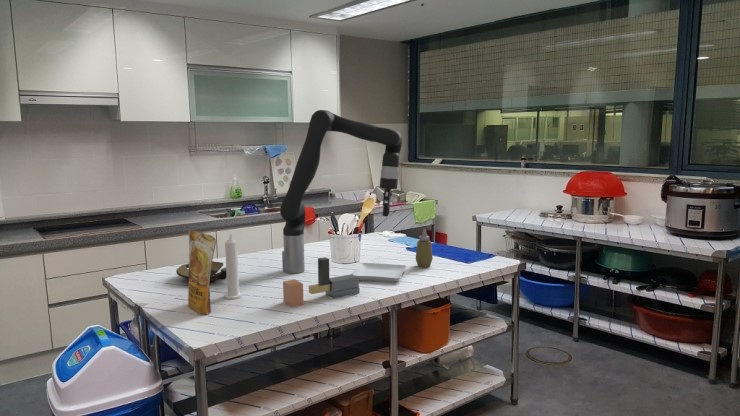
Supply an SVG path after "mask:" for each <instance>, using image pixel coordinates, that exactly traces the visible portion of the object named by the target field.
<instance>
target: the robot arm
mask: <svg viewBox="0 0 740 416" xmlns="http://www.w3.org/2000/svg"><path fill="white" fill-rule="evenodd" d="M307 128H308V129H307V133H306V137H305V140H304V143H303V144H302V145H303V146H302V148H301V151H300V154H299V156H298V158H297V162H296V165H295V167H294V171H293V174H292V176H291V180H290V184H289V187H288V189H287V192H286V194H285V196H284V198H283V201H282V203H281V205H280V209H279V211H280V212H279V213H280V216H281V218H282V219H283V220H285V224H284V227H283V229H282V234H283V235H282V237H283V250H282V252H281V253H282V254H281V259H282V260H281V261H282V262H281V263H282V265H281V266H282V273H287V274H300V273H304V272H305V269H306V268H305V266H306V265H305V226H306V207H305V203H304V202H303V197H304V195H305V193H306V191H307V189H308V188H309V186H310V185H311V184H312V182H313V179H314V178H315V176H316V173H317V171H318V168H319V164H320V159H321V147H322V144H323V140H324V138H325V135H326V133H327V132H335V133H336V132H337V133H342V134H346V135H349V136H350V137H351V136H352V137H354V138H357V139H359V140H360V139H361V140H364V141H368V142H372V143H378V144H381V145H383V146H385V149H384V153H383V155H382V160H381V161H382V162H381V170H380V177H379V178H380V179H379V188H380V189H384V191H383V193H382V207H383V208H382V216H383V217H388V216H389V214H390V209H391V208H390V207H391V203H392V200H393V191H392V190H397V189H398V183H399V165H400V154H401V149H402V146H403V145H402V144H403V137H402V134H401V133H400V132H399V131H397V130H396V129H392V128H387V127H381V126H378V125H376V124H375V125H374V124H371V123H367V122H363V121H357V120H352V119H348V118H345V117H342V116H341V115H337V114H336V113H334V112H331V111H330V110H326V109H318V110H316V111H314V112H313V114H312V115H311V118H310V119H309V125H308V127H307Z"/></svg>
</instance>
